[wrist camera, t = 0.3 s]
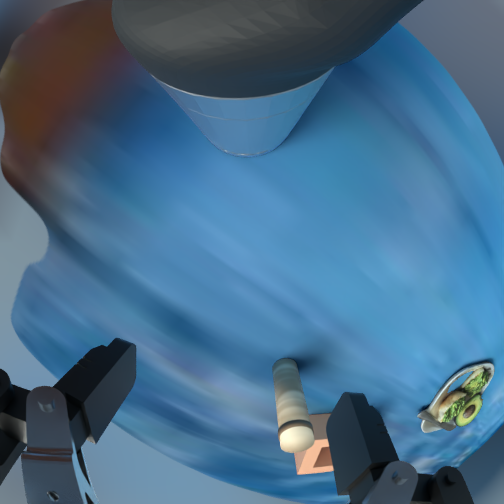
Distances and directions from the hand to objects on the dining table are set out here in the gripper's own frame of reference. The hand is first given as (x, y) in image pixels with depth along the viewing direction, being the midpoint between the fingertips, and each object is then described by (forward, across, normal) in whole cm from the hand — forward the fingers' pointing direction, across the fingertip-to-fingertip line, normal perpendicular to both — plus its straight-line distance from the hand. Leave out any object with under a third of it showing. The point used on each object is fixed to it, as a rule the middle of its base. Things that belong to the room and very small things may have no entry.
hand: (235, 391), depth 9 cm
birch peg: (+19, -6, +12) cm, 24 cm away
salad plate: (+22, -44, +18) cm, 53 cm away
